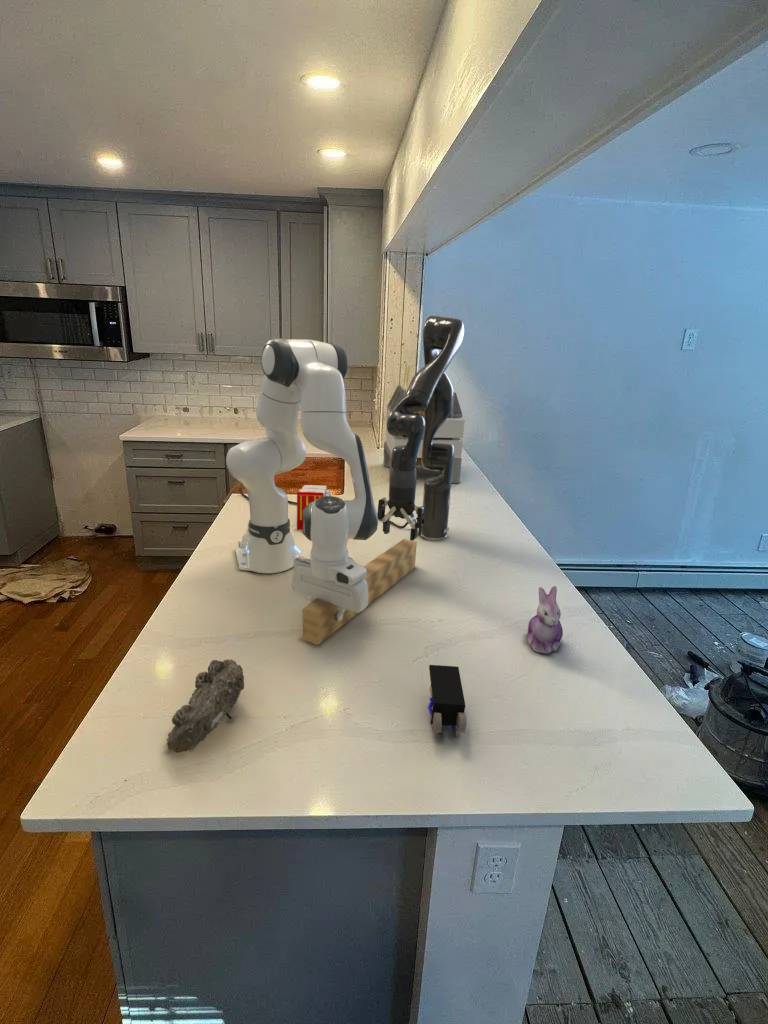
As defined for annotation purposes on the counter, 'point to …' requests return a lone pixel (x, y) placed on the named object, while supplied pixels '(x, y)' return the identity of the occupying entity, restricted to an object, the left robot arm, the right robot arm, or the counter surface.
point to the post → (378, 580)
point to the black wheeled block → (446, 699)
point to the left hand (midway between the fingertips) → (328, 616)
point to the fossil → (206, 705)
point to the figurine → (545, 624)
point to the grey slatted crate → (445, 434)
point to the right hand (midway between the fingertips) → (399, 536)
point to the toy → (308, 500)
